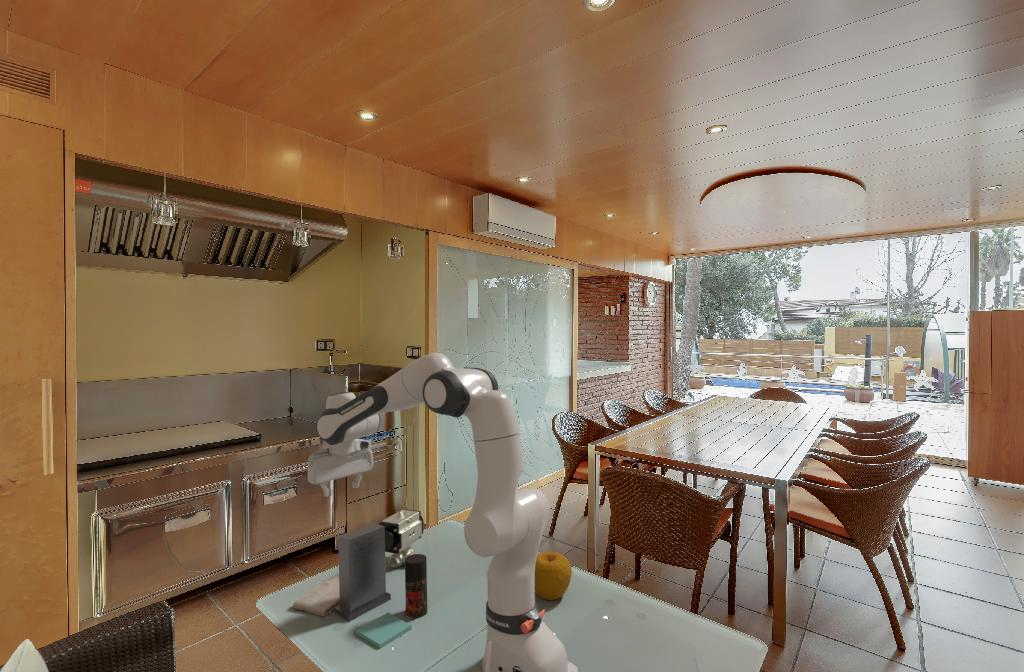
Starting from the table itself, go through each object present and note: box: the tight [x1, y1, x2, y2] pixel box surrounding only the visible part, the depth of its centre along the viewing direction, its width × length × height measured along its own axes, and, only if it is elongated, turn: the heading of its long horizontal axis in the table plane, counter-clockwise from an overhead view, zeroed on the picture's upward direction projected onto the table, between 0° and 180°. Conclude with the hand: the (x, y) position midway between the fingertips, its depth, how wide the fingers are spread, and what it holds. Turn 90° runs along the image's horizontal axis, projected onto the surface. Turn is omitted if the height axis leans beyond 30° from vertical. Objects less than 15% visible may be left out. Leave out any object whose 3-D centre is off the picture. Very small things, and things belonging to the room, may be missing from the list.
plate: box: [355, 612, 413, 649], centre depth 126 cm, size 10×10×1 cm
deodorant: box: [404, 553, 428, 619], centre depth 134 cm, size 6×6×15 cm
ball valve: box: [379, 508, 424, 569], centre depth 164 cm, size 18×8×18 cm, turn 157°
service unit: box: [333, 522, 392, 623], centre depth 138 cm, size 7×14×22 cm, turn 142°
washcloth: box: [292, 575, 340, 617], centre depth 143 cm, size 12×18×3 cm, turn 158°
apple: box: [535, 551, 573, 601], centre depth 142 cm, size 13×13×11 cm
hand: (342, 491), depth 145 cm, fingers open, 8 cm apart
